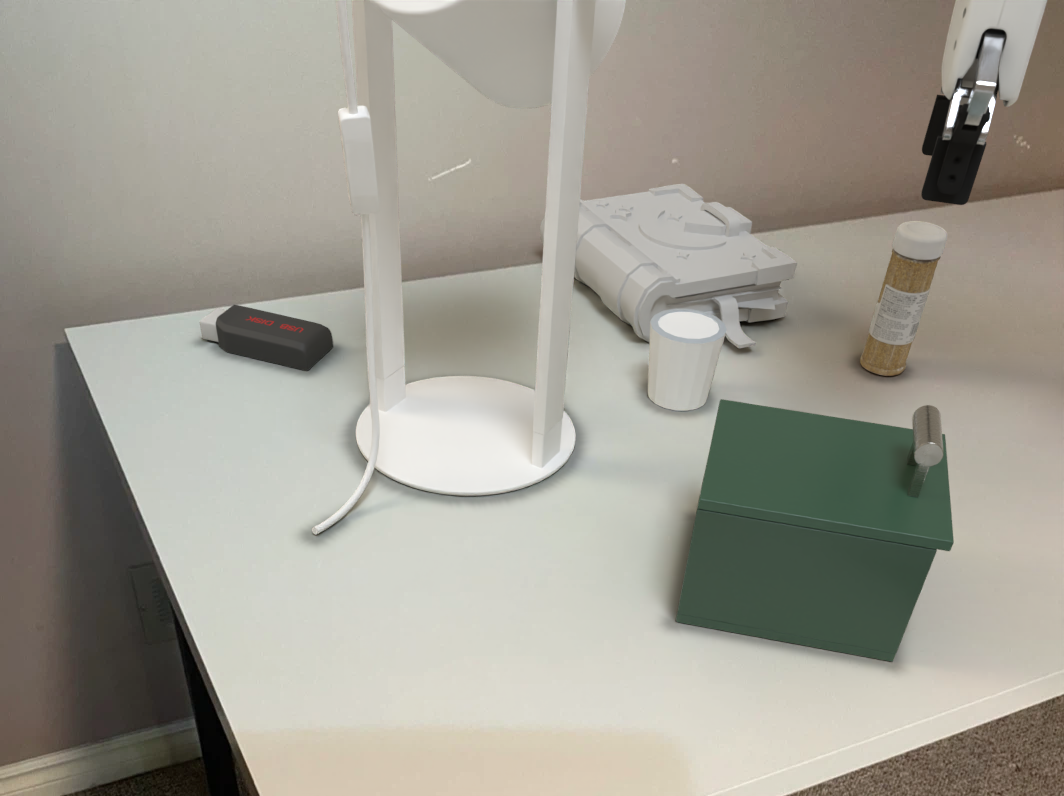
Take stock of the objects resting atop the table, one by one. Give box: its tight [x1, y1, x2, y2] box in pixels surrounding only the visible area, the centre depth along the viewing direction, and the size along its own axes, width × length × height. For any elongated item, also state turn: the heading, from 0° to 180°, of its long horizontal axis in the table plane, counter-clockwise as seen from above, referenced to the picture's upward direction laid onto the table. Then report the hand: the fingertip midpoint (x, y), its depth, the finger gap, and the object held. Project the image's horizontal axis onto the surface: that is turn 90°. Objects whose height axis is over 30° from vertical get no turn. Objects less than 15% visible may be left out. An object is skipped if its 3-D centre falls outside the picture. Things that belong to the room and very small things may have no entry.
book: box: [539, 183, 798, 349], centre depth 113 cm, size 19×28×8 cm
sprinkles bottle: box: [859, 220, 949, 377], centre depth 102 cm, size 5×5×13 cm
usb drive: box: [198, 304, 334, 372], centre depth 103 cm, size 5×12×3 cm, turn 70°
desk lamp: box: [311, 0, 627, 535], centre depth 77 cm, size 21×32×45 cm, turn 150°
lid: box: [697, 398, 955, 552], centre depth 73 cm, size 16×14×5 cm
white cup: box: [647, 309, 727, 412], centre depth 99 cm, size 7×7×7 cm
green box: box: [675, 506, 938, 663], centre depth 78 cm, size 16×14×10 cm
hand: (942, 177), depth 79 cm, fingers open, 9 cm apart
